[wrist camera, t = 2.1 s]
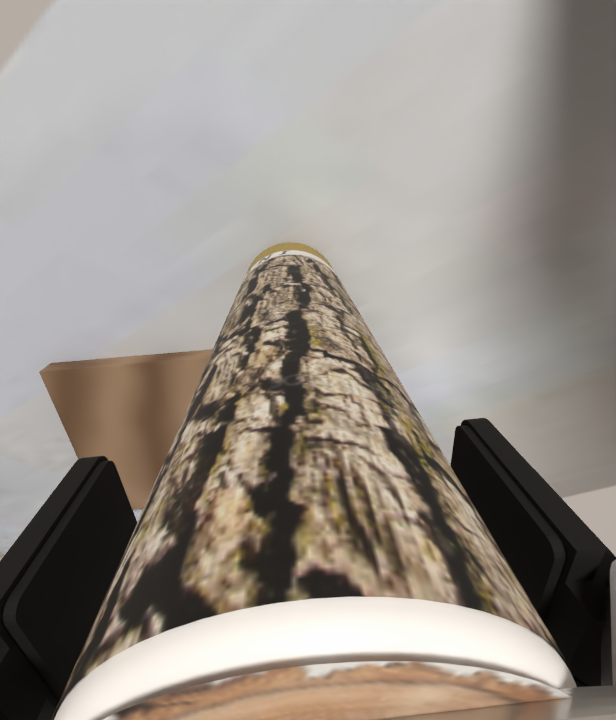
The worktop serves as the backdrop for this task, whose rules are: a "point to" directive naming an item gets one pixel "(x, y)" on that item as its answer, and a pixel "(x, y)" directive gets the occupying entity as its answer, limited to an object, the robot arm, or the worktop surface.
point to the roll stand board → (126, 410)
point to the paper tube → (308, 542)
